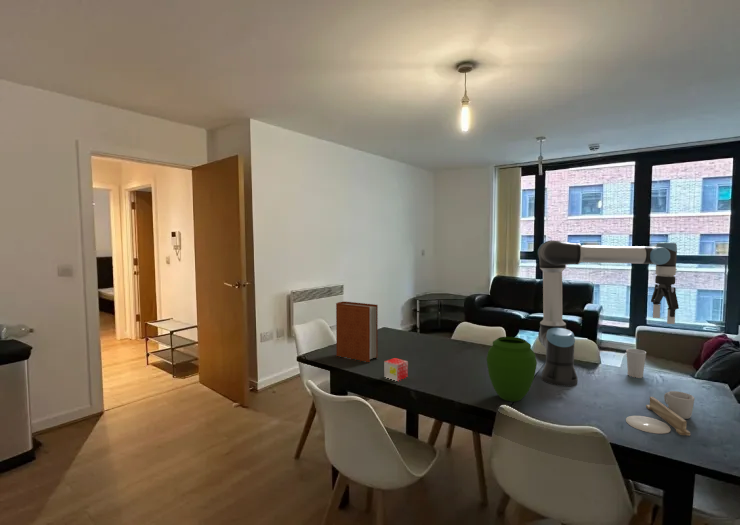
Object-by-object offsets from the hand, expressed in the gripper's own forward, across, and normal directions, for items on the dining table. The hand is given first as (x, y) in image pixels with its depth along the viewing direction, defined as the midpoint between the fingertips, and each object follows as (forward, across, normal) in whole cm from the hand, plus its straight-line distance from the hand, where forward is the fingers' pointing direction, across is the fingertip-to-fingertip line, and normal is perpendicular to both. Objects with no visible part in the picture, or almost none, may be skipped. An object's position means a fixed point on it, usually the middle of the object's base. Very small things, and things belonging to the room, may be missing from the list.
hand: (663, 320), depth 188 cm
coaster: (+27, -55, +28) cm, 67 cm away
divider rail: (+27, -49, +20) cm, 60 cm away
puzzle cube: (+28, -26, +122) cm, 128 cm away
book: (+28, +1, +148) cm, 151 cm away
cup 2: (+28, -43, +14) cm, 53 cm away
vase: (+28, -40, +72) cm, 87 cm away
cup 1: (+28, +1, +10) cm, 29 cm away
